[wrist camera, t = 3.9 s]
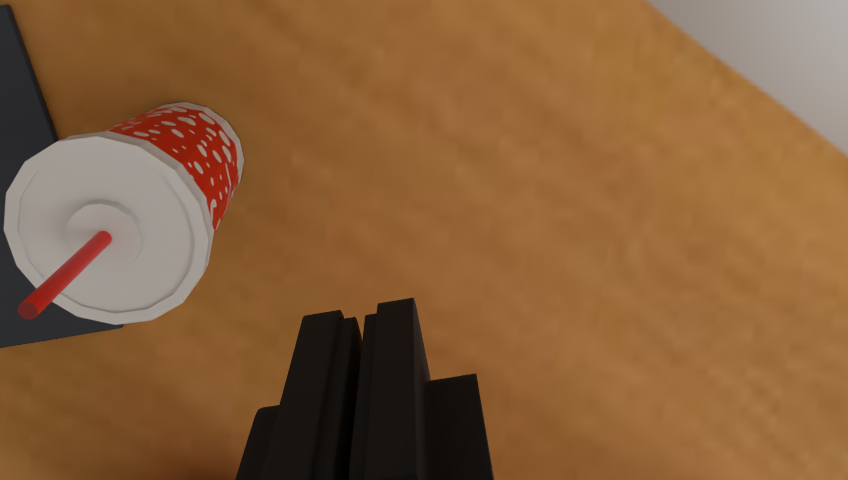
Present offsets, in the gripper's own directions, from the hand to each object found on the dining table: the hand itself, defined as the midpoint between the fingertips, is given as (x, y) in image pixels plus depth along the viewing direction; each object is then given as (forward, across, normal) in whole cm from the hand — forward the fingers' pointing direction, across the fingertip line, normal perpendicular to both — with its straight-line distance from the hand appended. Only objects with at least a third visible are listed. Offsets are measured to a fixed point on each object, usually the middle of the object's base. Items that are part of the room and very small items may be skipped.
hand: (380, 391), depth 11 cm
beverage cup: (+21, +9, +1) cm, 23 cm away
